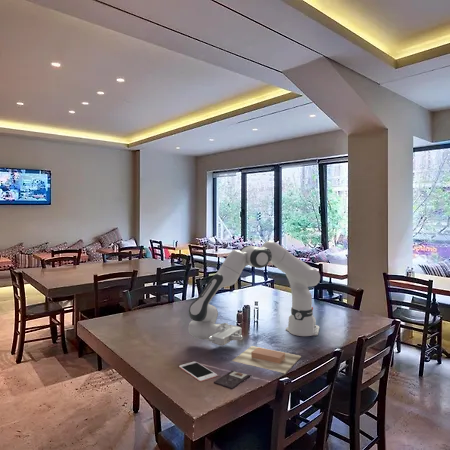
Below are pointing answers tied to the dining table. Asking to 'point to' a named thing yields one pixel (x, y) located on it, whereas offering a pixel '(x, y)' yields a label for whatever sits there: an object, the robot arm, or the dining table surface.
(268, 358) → the tile
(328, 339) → the dining table surface
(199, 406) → the dining table surface
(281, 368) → the board
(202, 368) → the cell phone
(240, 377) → the chocolate bar
